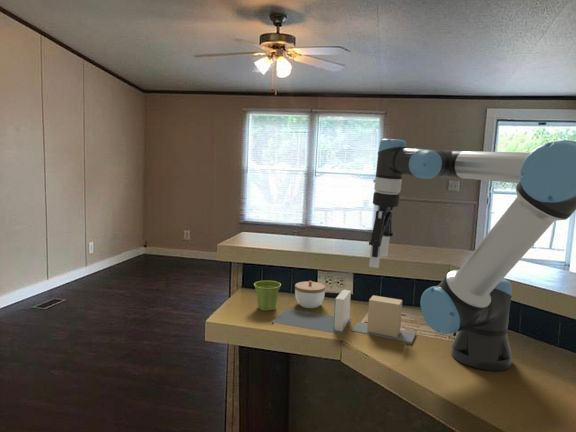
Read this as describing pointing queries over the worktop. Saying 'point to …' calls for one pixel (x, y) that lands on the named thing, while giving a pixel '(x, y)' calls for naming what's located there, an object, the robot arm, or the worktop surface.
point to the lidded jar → (309, 294)
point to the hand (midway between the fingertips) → (378, 261)
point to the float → (385, 320)
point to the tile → (342, 310)
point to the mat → (308, 320)
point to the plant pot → (267, 294)
